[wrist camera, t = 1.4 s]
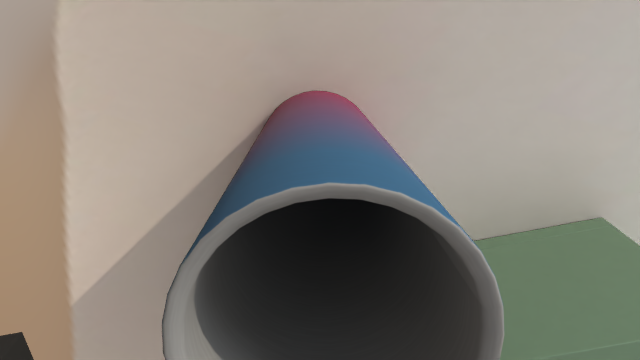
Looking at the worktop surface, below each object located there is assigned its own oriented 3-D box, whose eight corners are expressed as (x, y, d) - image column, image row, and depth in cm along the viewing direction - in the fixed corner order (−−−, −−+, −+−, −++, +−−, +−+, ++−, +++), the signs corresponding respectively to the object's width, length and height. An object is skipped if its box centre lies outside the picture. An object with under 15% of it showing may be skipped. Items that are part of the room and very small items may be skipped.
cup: (265, 229, 26) (219, 505, 12) (223, 91, 24) (109, 231, 10) (404, 196, 26) (525, 441, 12) (375, 53, 24) (479, 142, 10)
